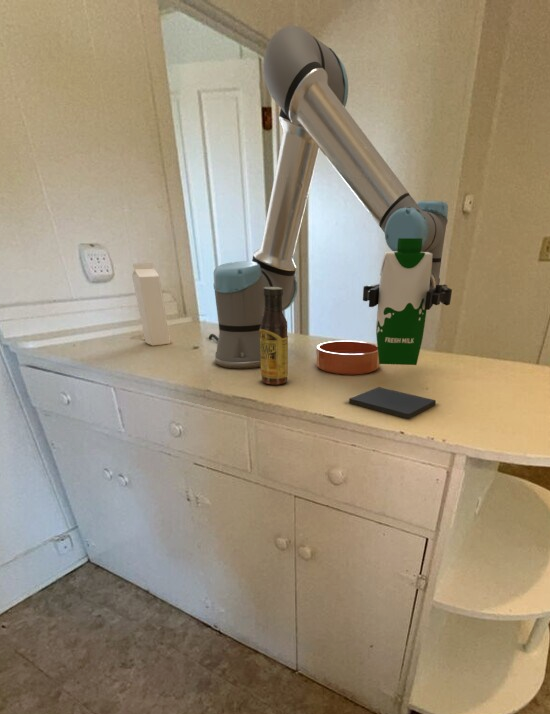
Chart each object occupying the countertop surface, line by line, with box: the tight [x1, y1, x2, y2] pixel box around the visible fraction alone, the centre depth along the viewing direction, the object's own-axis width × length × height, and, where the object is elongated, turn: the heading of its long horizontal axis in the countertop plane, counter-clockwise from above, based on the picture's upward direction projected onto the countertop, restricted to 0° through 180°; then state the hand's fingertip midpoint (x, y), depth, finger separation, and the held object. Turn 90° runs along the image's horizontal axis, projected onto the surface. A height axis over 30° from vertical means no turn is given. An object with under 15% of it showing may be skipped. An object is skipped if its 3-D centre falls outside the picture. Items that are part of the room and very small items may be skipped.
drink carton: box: [375, 238, 433, 366], centre depth 77 cm, size 9×9×20 cm
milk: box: [131, 262, 171, 347], centre depth 130 cm, size 6×6×22 cm
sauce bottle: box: [260, 287, 289, 386], centre depth 95 cm, size 7×6×20 cm
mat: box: [348, 386, 437, 420], centre depth 87 cm, size 14×11×1 cm
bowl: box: [316, 340, 380, 376], centre depth 111 cm, size 16×16×5 cm
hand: (399, 299), depth 73 cm, fingers closed on drink carton, 9 cm apart
